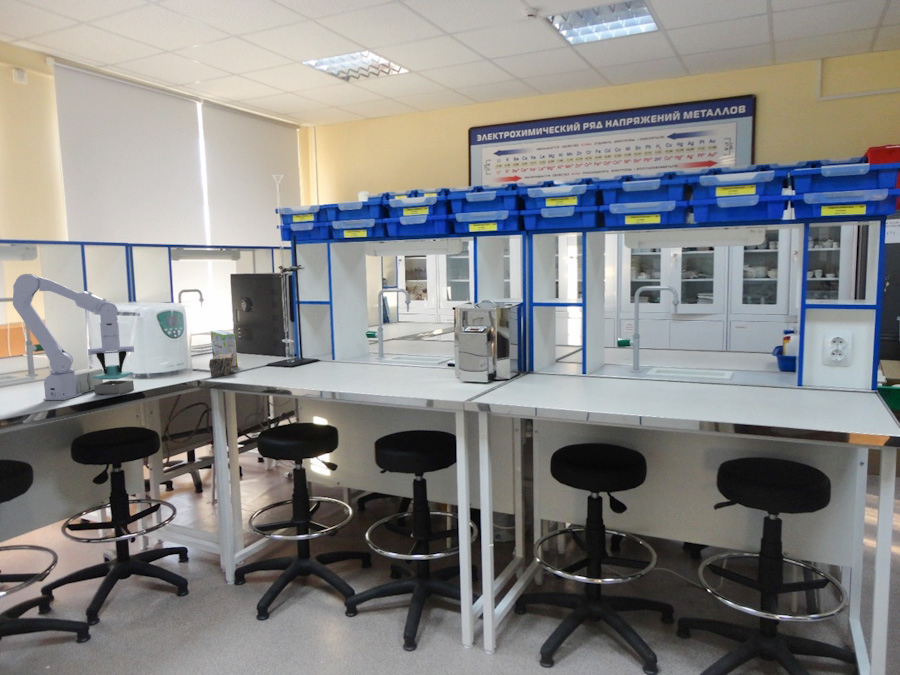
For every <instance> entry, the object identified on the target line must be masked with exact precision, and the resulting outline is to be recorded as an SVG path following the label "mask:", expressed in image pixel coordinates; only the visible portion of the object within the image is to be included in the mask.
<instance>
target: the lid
mask: <svg viewBox="0 0 900 675" xmlns="http://www.w3.org/2000/svg"><path fill="white" fill-rule="evenodd" d="M105 366H106V372H107V374H104V373H103V372H102V374H100V375H96V376H93V378H99V380H103V381H104V380H106V381H108V380H121V379H122V378H126V377H128V376H131V375H133V371H122V373H120V372H119V364H109V365H105Z"/></svg>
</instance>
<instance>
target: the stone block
mask: <svg viewBox="0 0 900 675" xmlns="http://www.w3.org/2000/svg"><path fill="white" fill-rule="evenodd" d="M232 361H233V353H229V354H220V355H218V356H215V357H213V356H212V358H211V359H209V362H208V363H209V364H208V367H209V370H210V376H211V377H219V376H220V377H223V375H225V376H229V375H230V373H229V372H231V371H232V370H231V369H232V367H231V366H232Z"/></svg>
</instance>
